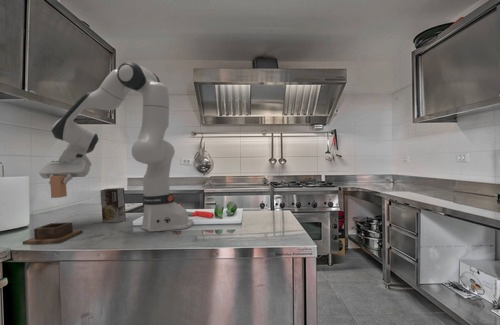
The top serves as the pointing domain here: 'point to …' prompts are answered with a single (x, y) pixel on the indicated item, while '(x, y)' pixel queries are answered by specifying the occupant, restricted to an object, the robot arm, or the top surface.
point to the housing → (53, 233)
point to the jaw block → (57, 187)
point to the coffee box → (113, 205)
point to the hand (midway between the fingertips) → (57, 183)
